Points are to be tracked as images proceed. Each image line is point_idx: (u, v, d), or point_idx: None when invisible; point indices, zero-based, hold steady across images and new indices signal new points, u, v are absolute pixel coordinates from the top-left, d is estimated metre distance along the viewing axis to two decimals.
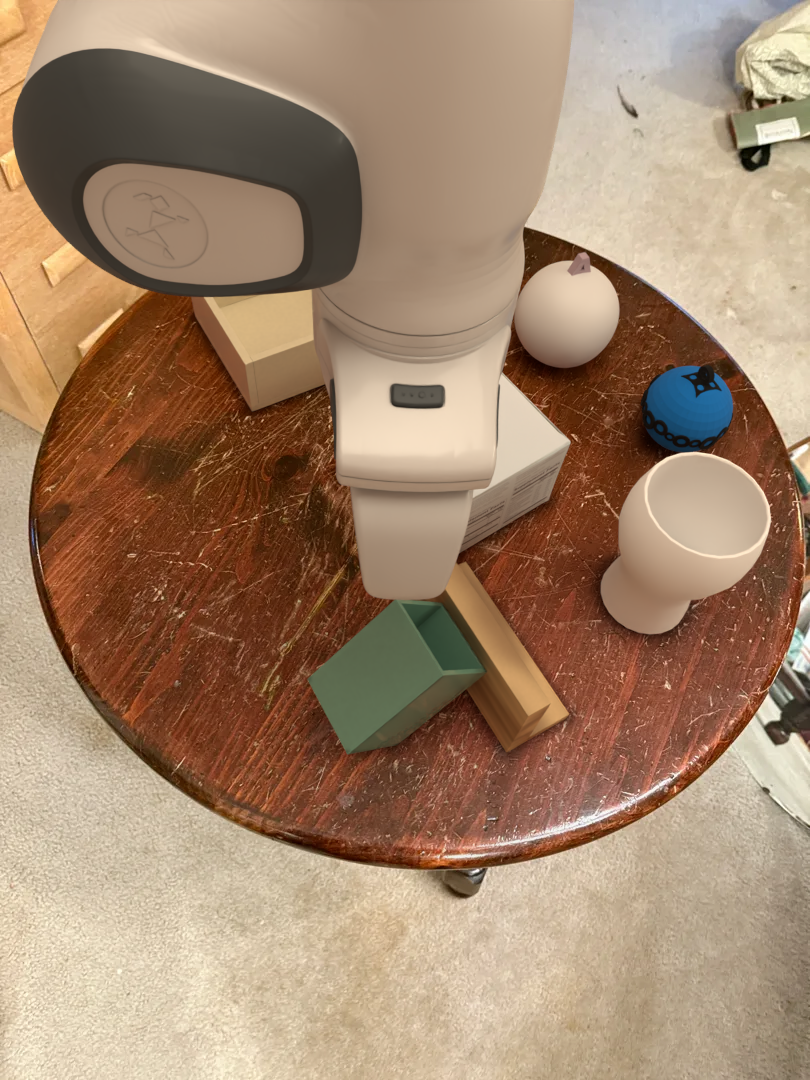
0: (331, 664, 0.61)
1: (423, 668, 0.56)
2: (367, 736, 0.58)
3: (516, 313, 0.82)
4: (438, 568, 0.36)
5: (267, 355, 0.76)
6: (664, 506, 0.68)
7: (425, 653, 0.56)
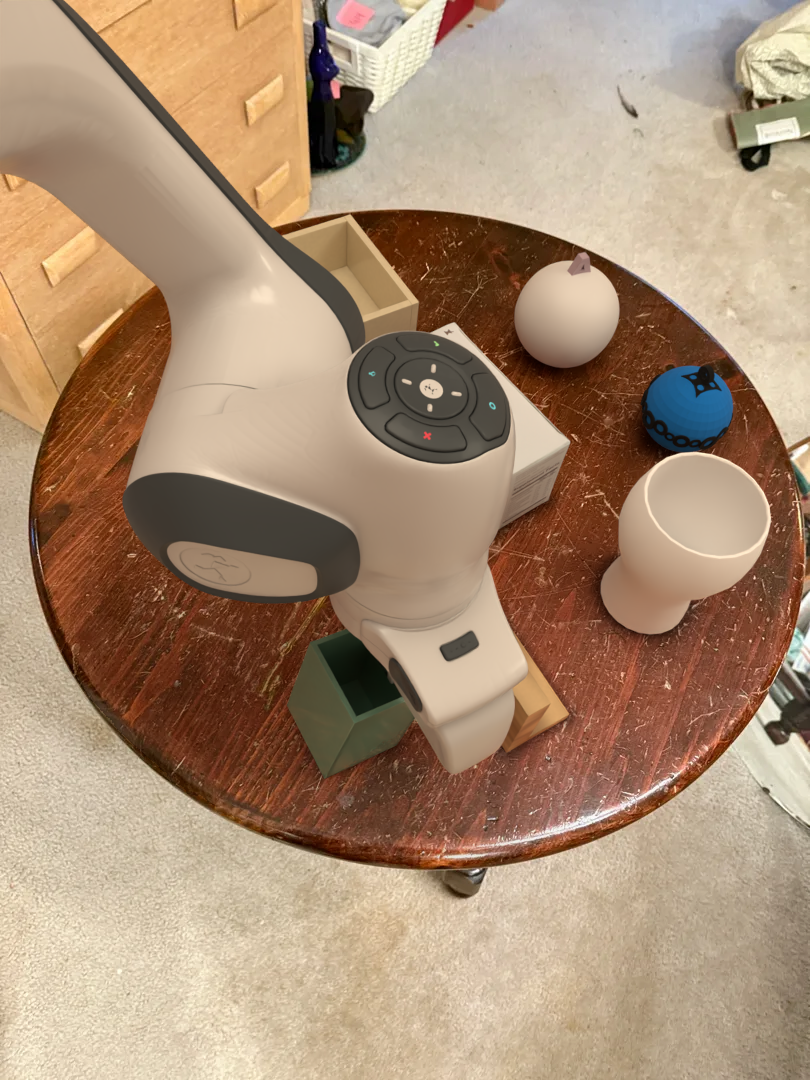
0: (294, 695, 0.62)
1: (342, 713, 0.55)
2: (330, 766, 0.60)
3: (516, 313, 0.82)
4: (500, 737, 0.48)
5: None
6: (664, 506, 0.68)
7: (339, 699, 0.55)
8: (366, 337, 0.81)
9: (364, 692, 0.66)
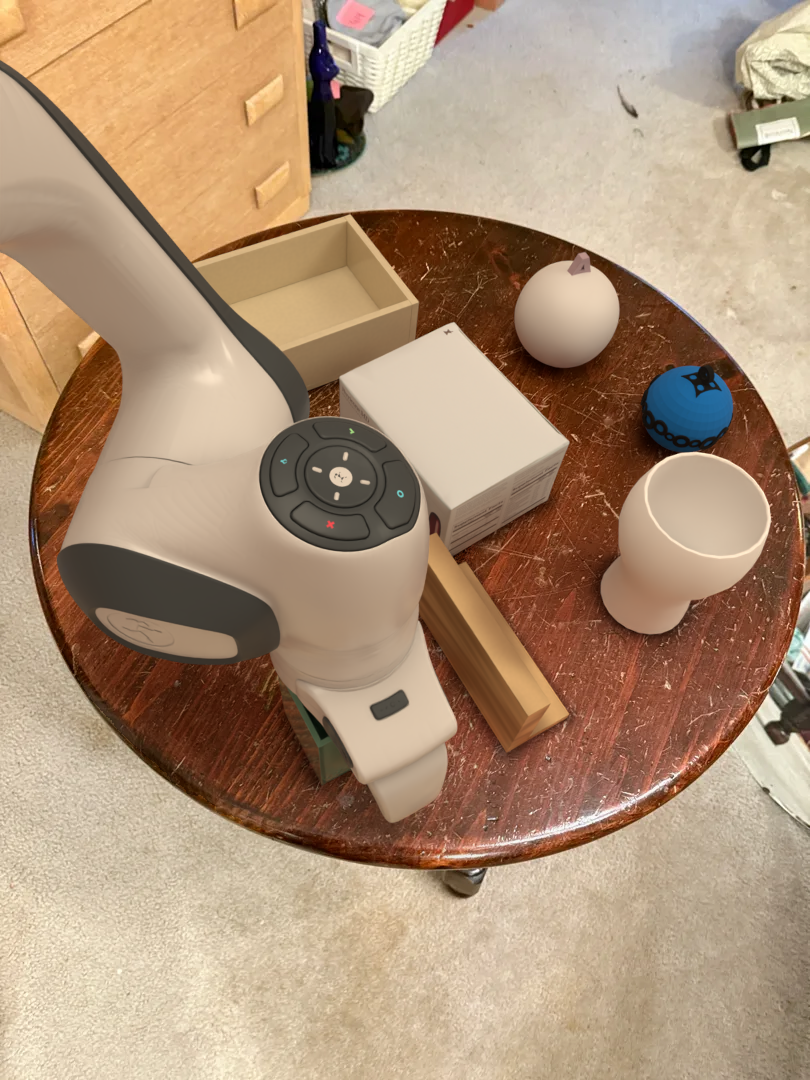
0: (285, 707, 0.63)
1: (310, 736, 0.55)
2: (320, 777, 0.61)
3: (516, 313, 0.82)
4: (435, 788, 0.50)
5: None
6: (664, 506, 0.68)
7: (305, 723, 0.55)
8: (366, 337, 0.81)
9: None
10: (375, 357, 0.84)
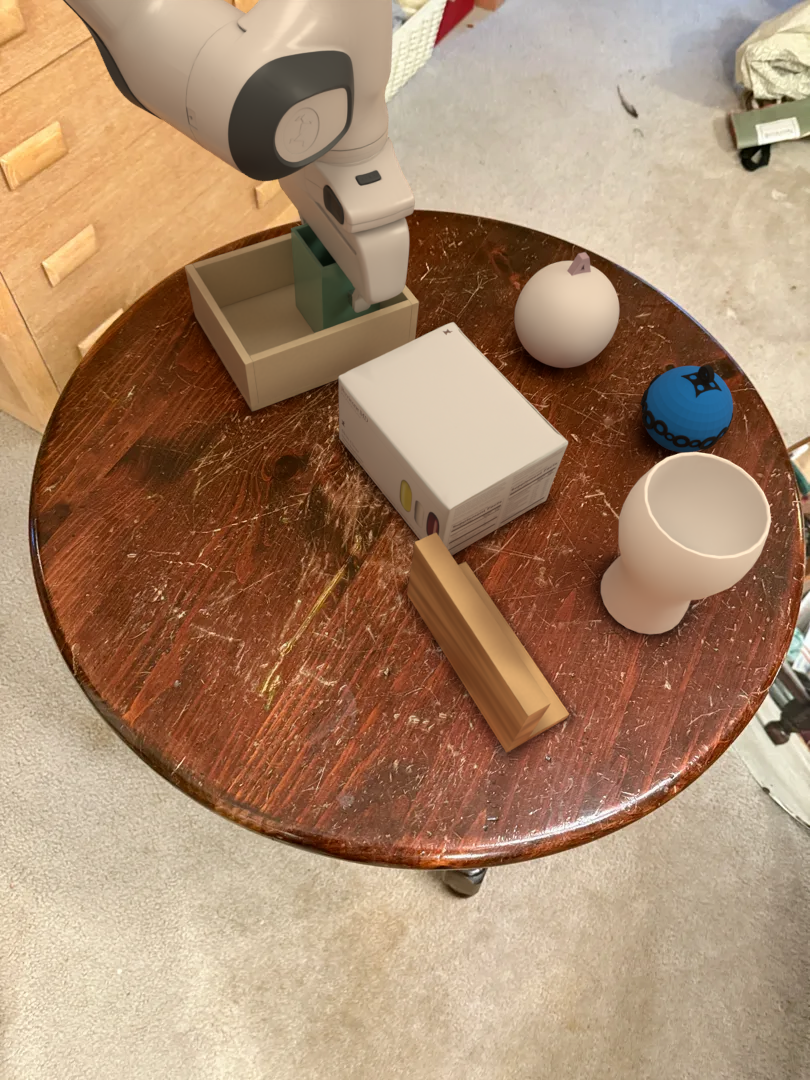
0: (296, 290, 0.85)
1: (315, 270, 0.78)
2: None
3: (516, 313, 0.82)
4: (401, 268, 0.72)
5: (267, 355, 0.76)
6: (664, 506, 0.68)
7: (311, 259, 0.77)
8: (366, 337, 0.81)
9: None
10: (375, 357, 0.84)
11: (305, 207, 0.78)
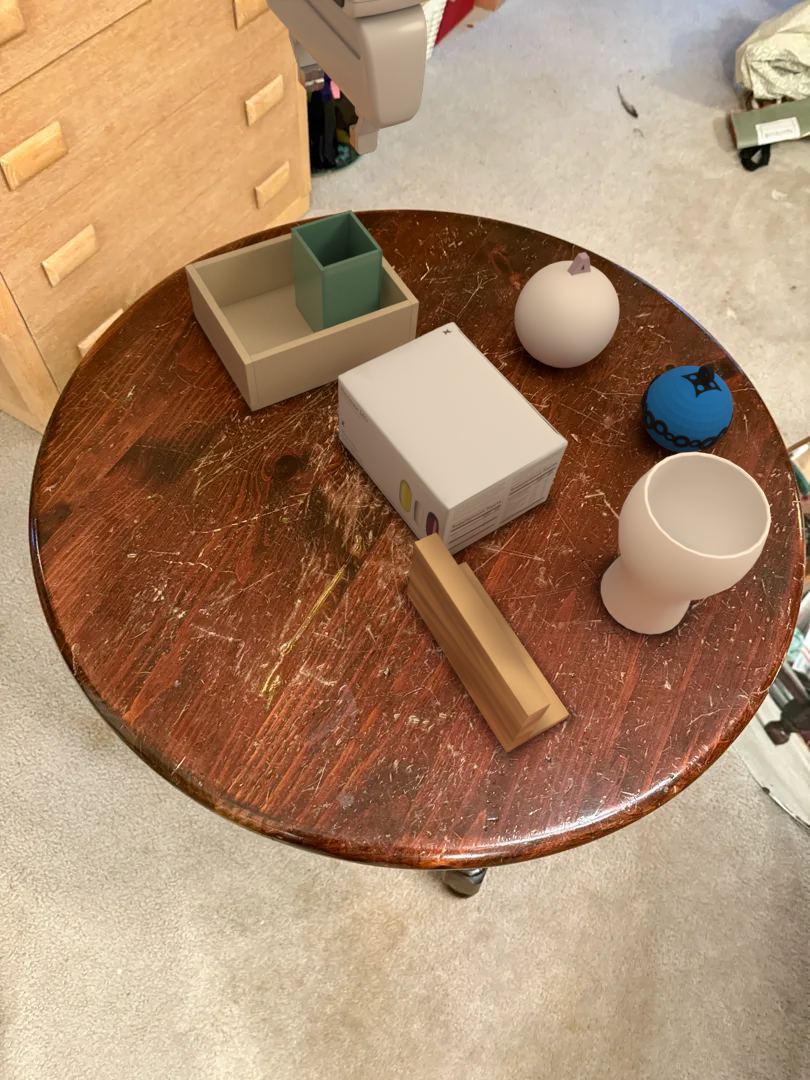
0: (296, 290, 0.85)
1: (315, 270, 0.78)
2: None
3: (516, 313, 0.82)
4: (417, 77, 0.57)
5: (267, 355, 0.76)
6: (664, 506, 0.68)
7: (311, 259, 0.77)
8: (366, 337, 0.81)
9: None
10: (375, 357, 0.84)
11: (297, 19, 0.63)
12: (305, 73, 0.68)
